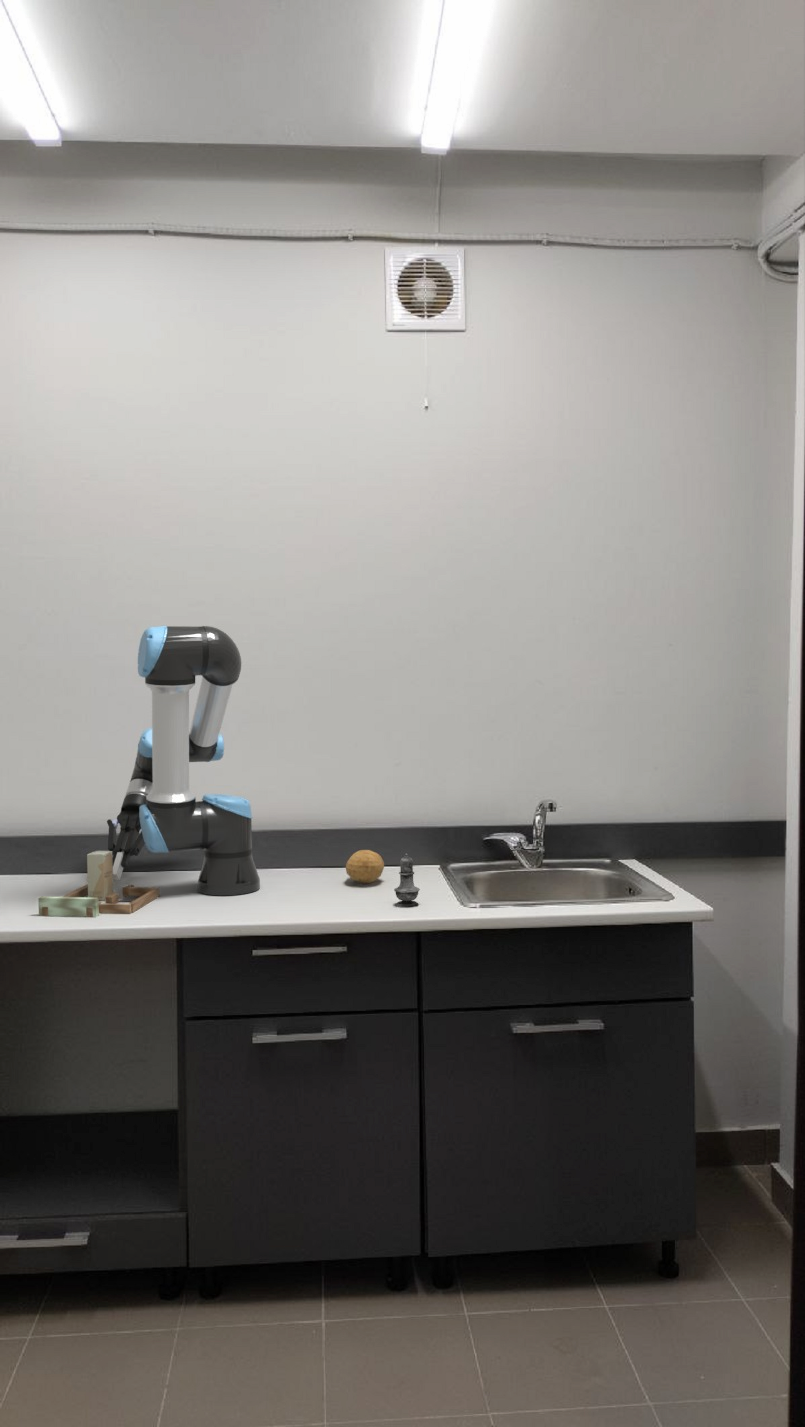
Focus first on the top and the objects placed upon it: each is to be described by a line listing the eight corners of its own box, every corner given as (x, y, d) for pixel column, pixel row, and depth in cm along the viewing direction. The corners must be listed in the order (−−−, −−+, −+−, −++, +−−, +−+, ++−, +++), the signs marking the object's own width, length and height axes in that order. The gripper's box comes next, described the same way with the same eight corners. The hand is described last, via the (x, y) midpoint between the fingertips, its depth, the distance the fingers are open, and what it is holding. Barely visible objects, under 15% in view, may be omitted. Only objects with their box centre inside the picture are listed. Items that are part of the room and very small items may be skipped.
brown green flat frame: (163, 893, 269) (163, 877, 268) (125, 917, 245) (124, 899, 245) (84, 891, 272) (84, 875, 271) (38, 915, 248) (38, 898, 248)
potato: (382, 876, 286) (381, 845, 286) (386, 887, 272) (385, 855, 272) (344, 877, 285) (344, 846, 285) (346, 889, 271) (346, 856, 271)
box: (104, 901, 262) (102, 854, 261) (87, 900, 263) (85, 854, 262) (114, 896, 267) (112, 850, 266) (97, 895, 268) (96, 850, 267)
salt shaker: (401, 908, 250) (400, 856, 249) (389, 903, 255) (389, 852, 254) (424, 905, 253) (423, 853, 252) (412, 900, 258) (411, 849, 257)
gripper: (166, 809, 291) (144, 886, 276) (119, 809, 293) (95, 885, 278) (158, 792, 286) (135, 869, 271) (110, 791, 288) (85, 868, 273)
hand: (115, 877), depth 274 cm, fingers closed
